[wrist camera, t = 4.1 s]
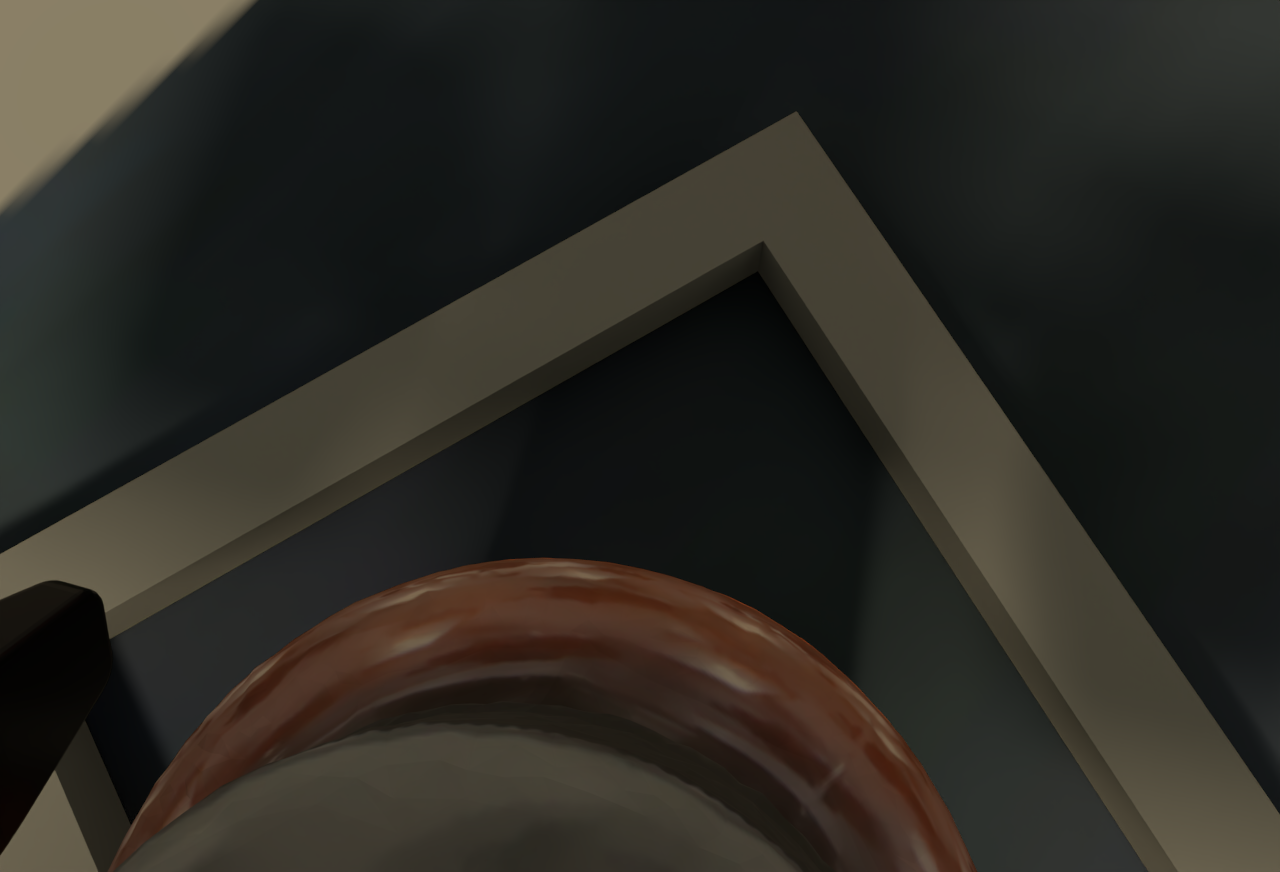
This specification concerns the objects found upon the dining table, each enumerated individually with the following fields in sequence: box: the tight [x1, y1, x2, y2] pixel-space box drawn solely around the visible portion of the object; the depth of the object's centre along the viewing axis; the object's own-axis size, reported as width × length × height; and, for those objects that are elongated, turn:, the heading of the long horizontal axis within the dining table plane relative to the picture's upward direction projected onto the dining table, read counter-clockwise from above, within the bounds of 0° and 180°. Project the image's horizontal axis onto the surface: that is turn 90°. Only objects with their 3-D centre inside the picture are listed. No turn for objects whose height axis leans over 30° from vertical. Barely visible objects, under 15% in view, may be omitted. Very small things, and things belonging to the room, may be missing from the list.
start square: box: [0, 111, 1280, 872], centre depth 14 cm, size 15×15×1 cm
